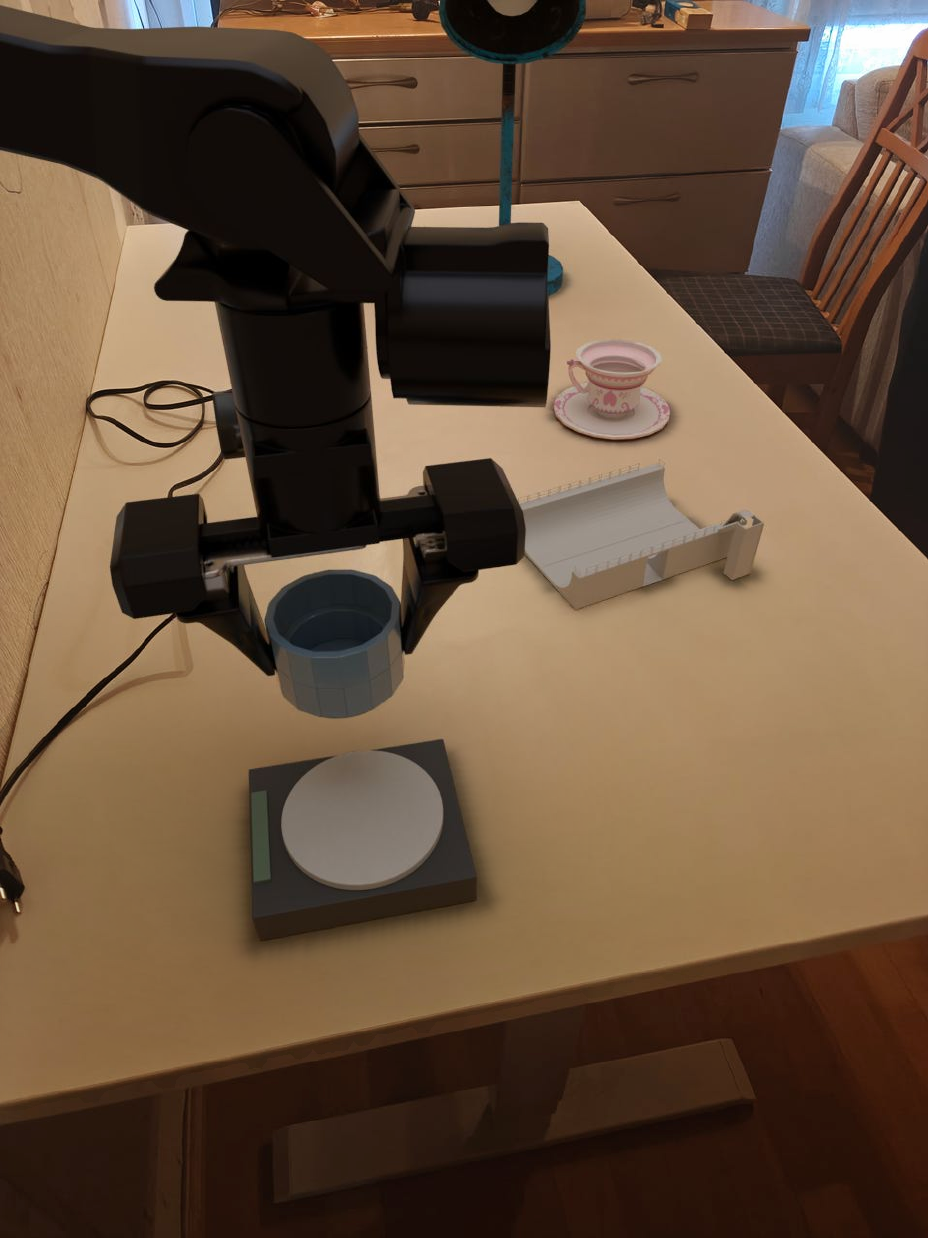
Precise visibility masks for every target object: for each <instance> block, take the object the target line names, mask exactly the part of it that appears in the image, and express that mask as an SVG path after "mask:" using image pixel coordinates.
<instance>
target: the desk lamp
mask: <svg viewBox="0 0 928 1238" xmlns="http://www.w3.org/2000/svg"><path fill="white" fill-rule="evenodd" d="M586 2H587V1H586V0H439V6H438V16H439V21H440V24H441V28H442V30H443V31H444V32H445V35H446V36H447V37H448V39H449V40H450V41H451V43H453V45H456V47H458V49H460V50H461V51H462V52H464V53H466V54H468V55H470V56H471V57H474V58H476V59H477V60H478V59H479V60H482V61H485V62H489V63H492V64H502V83H501V84H502V85H501V117H500V118H501V120H500V121H501V122H500V158H499V159H500V160H499V161H500V164H499V167H500V168H499V199H498V200H499V201H498V202H499V203H498V204H499V205H498V207H499V208H498V226H501V225H505V224H509V223H512V197H513V168H514V167H513V165H514V163H513V162H514V135H515V134H514V133H515V108H516V107H515V105H516V104H515V103H516V74H517V73H516V72H517V70H516V69H517V65H519V64H529V63H532V62H536V61H540V60H543V59H546V58H549V57H550V56H552V55H554V54H557V53H559V52H560V51H561V50H562V49H564V48H566V47H567V46H568V45H569V44H570V43H571V42H572V41H573V40H574V39H575V37H576V36H577V35H578V33H579V32H580V30H581V29H582V26H583V24H584V21H585V18H586V15H587V3H586ZM563 279H564V266H563V264H562V262H561V261H560V260H559V259H557V258H556V257H555V256H553V255H550V254H549V257H548V283H547V291H548V297H549V296H551V295H553V294H556V293H557V292H558V291H559V289H560V288H562V285H563V281H564V280H563Z"/></svg>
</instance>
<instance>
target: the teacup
mask: <svg viewBox="0 0 928 1238" xmlns="http://www.w3.org/2000/svg"><path fill="white" fill-rule="evenodd" d="M575 356H576V359H577V360H574V359H572V358H571V359H570V360H567V361H566V365H568V376H569V379H570V382H571V383H572V384H573V385H572V386H570V387H567V388H566V389H564V390H563V391H561V392H560V393H559V394H558V395H557V396H556V398H555V400H554V402H553V410H554V414H555V417H556V418H557V419H558V420H559V421H560V422H561V423H562V425H564V426H565V427H566V428H569V429H571V430H573V431H575V432H576V433H579V434H583V435H586V436H589V437H592V438H599V439H605V440H613V441H614V440H616V441H617V440H635V439H638V438H643V437H647V436H650V435H651V436H652V435H653V434H655V433H656V432H659V431H661V430H662V429H664V427H665V426H666V425H667V424H668V423H669V420H670V413H671V408H670V406H669V405H668V403H667V401H666V400H665V399H664V398H663V397H661V396H660V395H659V394H658V393H657V392H654V391H652V390H650V389H648V388H646V387H644V386H643V385H644V384H645V383H646V382H647V380H648V377H649V375H651V374H652V373H653V372H654V371H655V370H656V368H658V367H659V366H660V364H661V363H662V360H663V356H662V354H661V353H660V352H659V351H658V350H657V349H656V348H654V347H652V346H650V345H648V344H645V343H643V342H638V341H634V340H627V339H614V338H613V339H600V340H593V341H589V342H587V343H585V344H582V345H581V346H580V347H578V349H577V350H576V353H575ZM574 368H580V369H582V370H583V371H585V376H586V377H587V380H588V382H582V383H579V382H578V380H577V378H575V375H574V372H573V369H574Z"/></svg>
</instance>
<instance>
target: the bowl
mask: <svg viewBox="0 0 928 1238" xmlns="http://www.w3.org/2000/svg"><path fill="white" fill-rule="evenodd" d="M263 622H264V625H265V628H266V631H267V636H268V640H269V645H270V649H271V653H272V658H273V663H274V668H275V676H276V682H277V684H278V687H279V690H280V692H281V695H282V697H283V699H285V700H286V701H287V702H288V703H289V704H291V706H293V707H294V708H295V709H296V710H298V711H299V712H303V713H306V714H309V715H312V716H315V717H317V718H324V719H333V720H334V719H337V720H338V719H339V720H340V719H349V718H354V717H357V716H361V715H364V714H367V713H369V712H371V711H373V710H375V709H376V708H378V707H379V706H381V705H382V704H383V703H386V701H388V700H389V699H391V698H392V697H393V696H394V695H395V693H396V691H397V690H398V688H399V687H400V685H401V684H402V682H403V681H404V677H405V665H406V659H405V653H404V645H403V630H402V615H401V599H399V597H398V595H397V593H396V591H395V589H394V588H393V586H391V585H390V584H389V583H387V582H385V581H384V580H383V579H381V578H380V577H378V576H377V575H375V574H371V573H368V572H364V571H360V570H356V569H350V568H349V569H345V568H344V569H324V570H320V571H317V572H313V573H312V572H311V573H309V574H304V575H302V576H299V577H298V578H296V579H295V580H293V581H290V583H287V584H285V585H284V586H282V587H281V588H280V589H279V590H278V591H277V593H276V594H275V595H274V596H273V597H272V598H271V600H269V602H268V604H267V608H266V612H265V616H264V619H263Z"/></svg>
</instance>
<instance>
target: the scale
mask: <svg viewBox="0 0 928 1238" xmlns="http://www.w3.org/2000/svg"><path fill="white" fill-rule="evenodd" d="M248 797H249V799H248V801H249V804H248V805H249V837H250V838H249V839H250V841H249V842H250V873H251V875H250V876H251V880H250V881H251V909H252V910H251V911H252V912H251V913H252V921H253V924H254V927H255V930H256V934H257V937H258V940H259V941H266V940H272V939H278V938H283V937H288V936H293V935H298V934H303V933H310V932H315V931H320V930H326V929H330V928H335V927H341V926H346V925H351V924H357V923H364V922H367V921H373V920H378V919H379V920H380V919H384V918H390V917H394V916H399V915H405V914H411V913H416V912H421V911H426V910H431V909H436V908H442V907H448V906H453V905H458V904H464V903H470V902H473V901H474V902H475V901H477V897H478V896H477V895H478V894H477V893H478V875H477V871H476V868H475V867H476V866H475V863H474V859H473V854H472V850H471V847H470V842H469V838H468V835H467V831H466V826H465V822H464V819H463V813H462V810H461V806H460V802H459V798H458V792H457V790H456V785H455V781H454V777H453V773H452V769H451V765H450V761H449V757H448V753H447V749H446V745H445V740H444V739H443V738H439V739H432V740H427V741H419V742H414V743H407V744H400V745H395V746H387V747H381V748H376V749H369V750H357V751H351V752H350V751H349V752H346V753H345V752H344V753H342V754H337V755H332V756H326V757H318V758H312V759H305V760H300V761H294V762H286V763H281V764H275V765H269V766H262V767H255V768H250V769H248Z"/></svg>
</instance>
